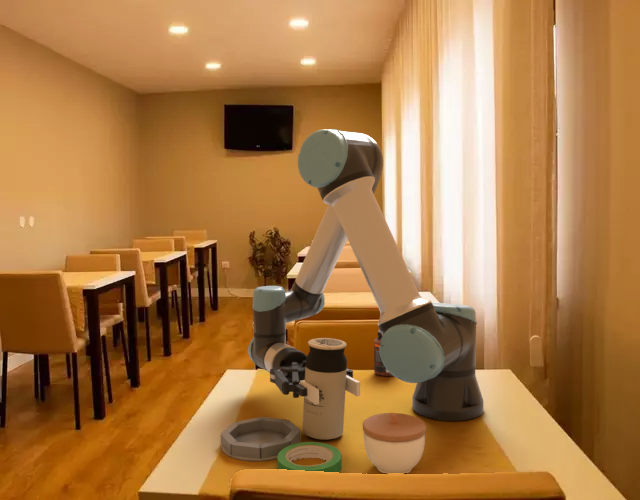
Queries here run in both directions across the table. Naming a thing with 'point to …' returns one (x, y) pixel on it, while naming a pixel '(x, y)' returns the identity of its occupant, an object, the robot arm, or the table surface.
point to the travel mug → (325, 388)
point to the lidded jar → (394, 441)
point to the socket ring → (259, 438)
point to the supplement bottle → (379, 358)
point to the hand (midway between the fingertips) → (338, 393)
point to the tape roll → (310, 451)
